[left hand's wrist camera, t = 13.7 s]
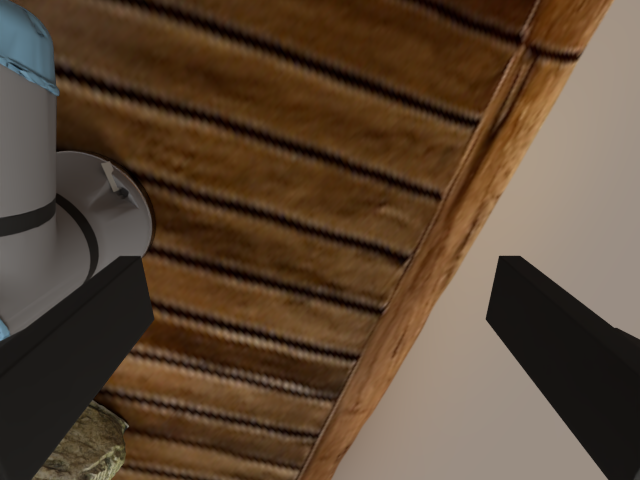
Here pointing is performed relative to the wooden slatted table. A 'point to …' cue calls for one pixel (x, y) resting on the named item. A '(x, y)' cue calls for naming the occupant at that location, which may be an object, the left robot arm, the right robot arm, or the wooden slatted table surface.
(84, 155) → the left robot arm
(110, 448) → the fossil
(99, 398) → the wooden slatted table surface
